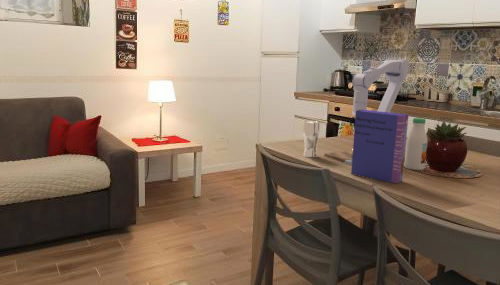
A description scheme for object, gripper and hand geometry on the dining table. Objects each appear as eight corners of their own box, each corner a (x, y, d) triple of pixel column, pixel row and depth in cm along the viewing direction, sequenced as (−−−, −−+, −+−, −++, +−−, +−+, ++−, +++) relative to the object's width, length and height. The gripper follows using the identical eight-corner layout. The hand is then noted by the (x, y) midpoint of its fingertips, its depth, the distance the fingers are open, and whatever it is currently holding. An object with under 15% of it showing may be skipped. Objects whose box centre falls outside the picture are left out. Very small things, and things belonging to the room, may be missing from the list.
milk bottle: (414, 171, 172) (420, 120, 168) (399, 166, 179) (404, 117, 175) (428, 169, 176) (434, 119, 172) (413, 165, 183) (418, 116, 179)
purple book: (401, 181, 158) (408, 114, 153) (396, 183, 154) (403, 115, 150) (357, 172, 169) (362, 109, 164) (351, 174, 165) (356, 109, 161)
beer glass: (317, 158, 189) (320, 123, 187) (301, 157, 191) (303, 122, 188) (318, 154, 196) (320, 121, 193) (302, 153, 197) (304, 120, 195)
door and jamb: (356, 152, 203) (356, 143, 202) (399, 165, 180) (400, 155, 180) (324, 155, 194) (324, 146, 194) (365, 170, 172) (366, 159, 171)
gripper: (368, 104, 181) (365, 137, 184) (371, 101, 195) (368, 132, 197) (350, 102, 184) (347, 135, 186) (355, 100, 197) (352, 130, 199)
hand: (357, 133), depth 192 cm, fingers closed
